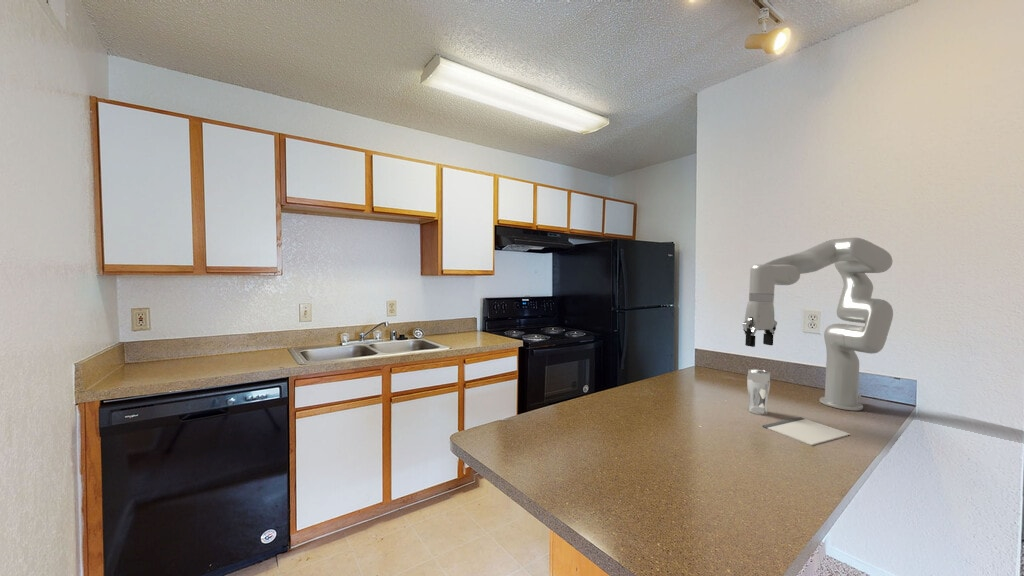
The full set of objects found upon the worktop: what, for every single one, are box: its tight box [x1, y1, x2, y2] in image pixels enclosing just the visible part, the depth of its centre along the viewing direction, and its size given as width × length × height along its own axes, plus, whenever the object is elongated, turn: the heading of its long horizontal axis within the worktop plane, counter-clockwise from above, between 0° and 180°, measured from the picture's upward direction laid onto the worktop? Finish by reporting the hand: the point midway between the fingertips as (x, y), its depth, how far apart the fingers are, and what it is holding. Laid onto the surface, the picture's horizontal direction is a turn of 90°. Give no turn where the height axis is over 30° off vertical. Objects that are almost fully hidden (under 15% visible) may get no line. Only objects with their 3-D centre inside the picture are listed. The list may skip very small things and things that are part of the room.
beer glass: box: [746, 368, 771, 416], centre depth 135 cm, size 7×7×15 cm
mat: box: [762, 416, 851, 446], centre depth 119 cm, size 20×14×1 cm
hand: (759, 345), depth 134 cm, fingers open, 9 cm apart
